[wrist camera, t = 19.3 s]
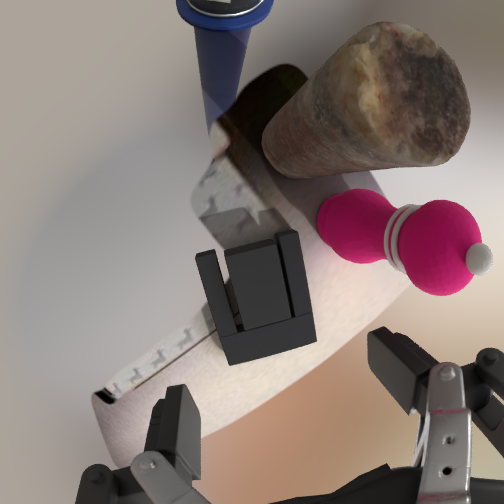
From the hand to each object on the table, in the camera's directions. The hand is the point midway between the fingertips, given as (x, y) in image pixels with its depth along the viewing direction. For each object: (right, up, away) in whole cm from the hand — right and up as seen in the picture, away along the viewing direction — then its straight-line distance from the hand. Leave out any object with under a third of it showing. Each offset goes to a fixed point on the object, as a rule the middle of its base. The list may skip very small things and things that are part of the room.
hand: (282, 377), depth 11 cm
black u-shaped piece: (-1, 0, +20) cm, 20 cm away
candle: (+3, +16, +17) cm, 24 cm away
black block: (-1, +2, +19) cm, 19 cm away
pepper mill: (+9, +9, +19) cm, 23 cm away
